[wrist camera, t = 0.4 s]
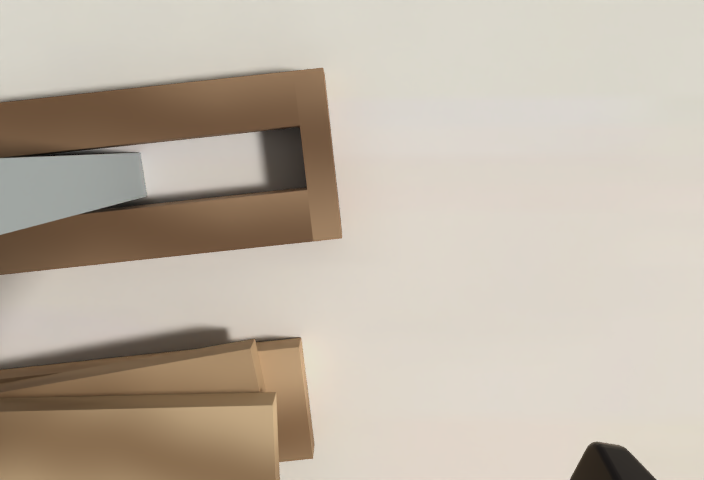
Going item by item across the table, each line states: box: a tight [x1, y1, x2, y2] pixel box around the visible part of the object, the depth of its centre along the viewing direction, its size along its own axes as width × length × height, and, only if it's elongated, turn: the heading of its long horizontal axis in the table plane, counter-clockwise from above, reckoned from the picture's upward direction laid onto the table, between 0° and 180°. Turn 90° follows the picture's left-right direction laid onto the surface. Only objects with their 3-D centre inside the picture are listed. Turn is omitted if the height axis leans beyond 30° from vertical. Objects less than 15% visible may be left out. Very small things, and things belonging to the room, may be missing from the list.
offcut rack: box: [0, 68, 342, 480], centre depth 21 cm, size 14×20×3 cm
